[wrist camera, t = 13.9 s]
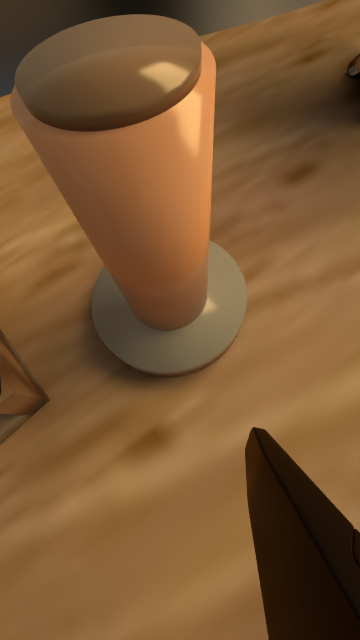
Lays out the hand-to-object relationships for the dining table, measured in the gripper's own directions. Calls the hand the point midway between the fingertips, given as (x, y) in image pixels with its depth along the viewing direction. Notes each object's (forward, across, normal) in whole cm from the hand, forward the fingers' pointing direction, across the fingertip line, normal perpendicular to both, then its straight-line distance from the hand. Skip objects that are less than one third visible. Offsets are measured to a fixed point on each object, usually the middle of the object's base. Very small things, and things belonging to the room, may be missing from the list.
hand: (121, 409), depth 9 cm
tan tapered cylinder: (+12, 0, -2) cm, 12 cm away
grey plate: (+13, 0, -1) cm, 13 cm away
